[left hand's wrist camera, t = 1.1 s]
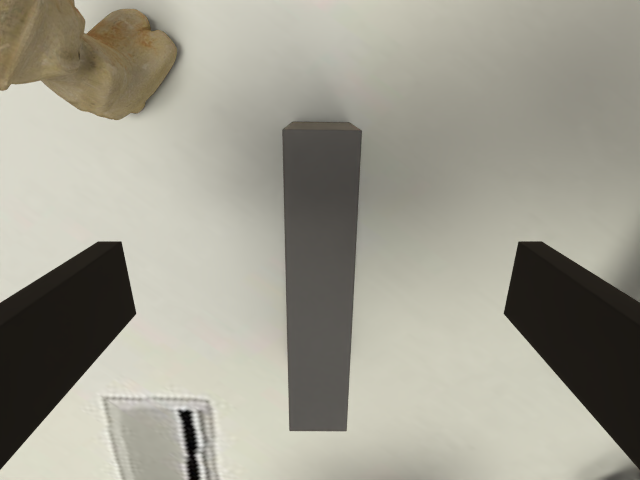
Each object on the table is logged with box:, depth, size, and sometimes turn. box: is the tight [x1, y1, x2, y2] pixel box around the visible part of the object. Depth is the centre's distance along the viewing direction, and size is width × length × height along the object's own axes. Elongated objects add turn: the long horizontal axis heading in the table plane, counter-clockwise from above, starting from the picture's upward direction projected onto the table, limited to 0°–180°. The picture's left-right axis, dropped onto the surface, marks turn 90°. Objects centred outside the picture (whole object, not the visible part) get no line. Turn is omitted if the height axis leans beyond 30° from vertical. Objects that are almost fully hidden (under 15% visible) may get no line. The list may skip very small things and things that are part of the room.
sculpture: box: [0, 0, 177, 120], centre depth 21 cm, size 6×7×15 cm
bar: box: [283, 122, 362, 431], centre depth 30 cm, size 24×5×9 cm, turn 179°
